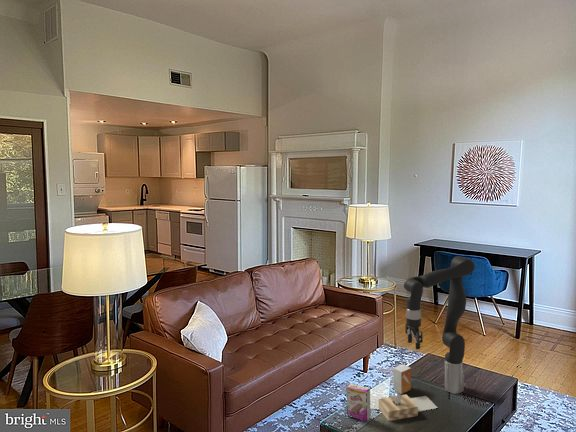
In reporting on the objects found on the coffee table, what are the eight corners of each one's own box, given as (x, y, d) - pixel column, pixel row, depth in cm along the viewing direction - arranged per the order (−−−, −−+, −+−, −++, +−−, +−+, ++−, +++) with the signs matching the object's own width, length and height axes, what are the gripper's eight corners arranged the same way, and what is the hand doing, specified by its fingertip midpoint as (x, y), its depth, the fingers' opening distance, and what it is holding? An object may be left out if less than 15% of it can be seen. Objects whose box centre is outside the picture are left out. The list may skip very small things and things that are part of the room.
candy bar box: (346, 417, 221) (345, 386, 219) (350, 411, 225) (349, 382, 223) (367, 423, 215) (366, 392, 213) (371, 417, 219) (370, 387, 217)
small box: (401, 394, 240) (401, 372, 238) (393, 389, 245) (392, 367, 243) (411, 389, 244) (411, 367, 242) (402, 385, 249) (402, 363, 248)
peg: (399, 409, 225) (398, 391, 224) (401, 413, 222) (401, 394, 221) (393, 410, 225) (393, 392, 223) (396, 413, 222) (396, 395, 220)
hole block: (406, 403, 231) (406, 394, 230) (417, 415, 219) (417, 406, 219) (378, 407, 228) (378, 399, 227) (388, 421, 216) (388, 411, 215)
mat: (425, 396, 236) (425, 395, 236) (437, 408, 225) (437, 407, 225) (405, 399, 234) (405, 399, 234) (416, 412, 222) (416, 411, 222)
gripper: (427, 320, 223) (427, 350, 225) (413, 311, 237) (413, 339, 239) (413, 322, 221) (413, 352, 223) (400, 312, 235) (401, 341, 237)
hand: (413, 345), depth 231 cm, fingers open, 8 cm apart
